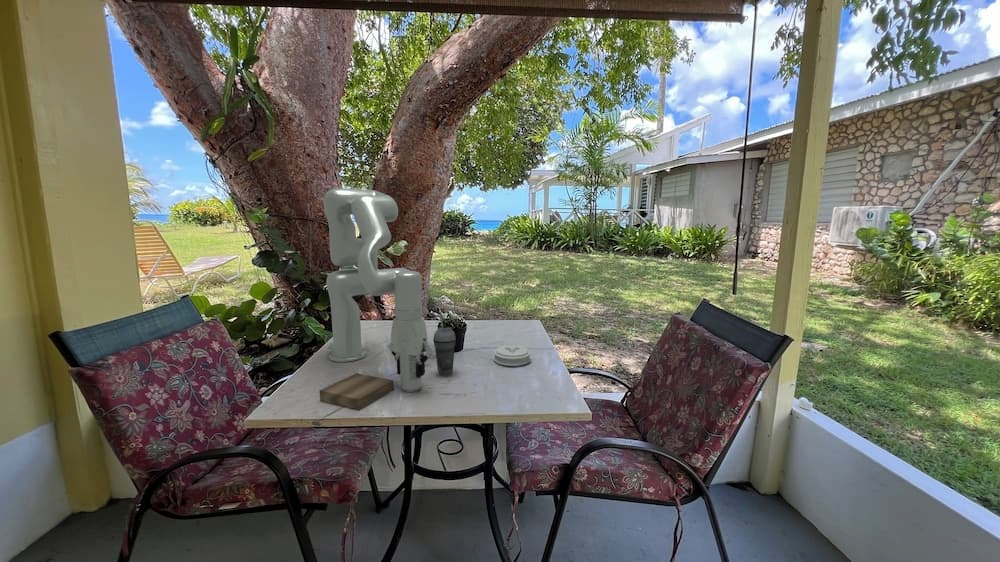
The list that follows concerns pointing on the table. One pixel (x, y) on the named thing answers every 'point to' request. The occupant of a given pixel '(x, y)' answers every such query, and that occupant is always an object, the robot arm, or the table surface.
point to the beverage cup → (444, 349)
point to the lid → (512, 355)
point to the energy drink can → (409, 372)
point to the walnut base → (357, 391)
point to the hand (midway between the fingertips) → (410, 373)
